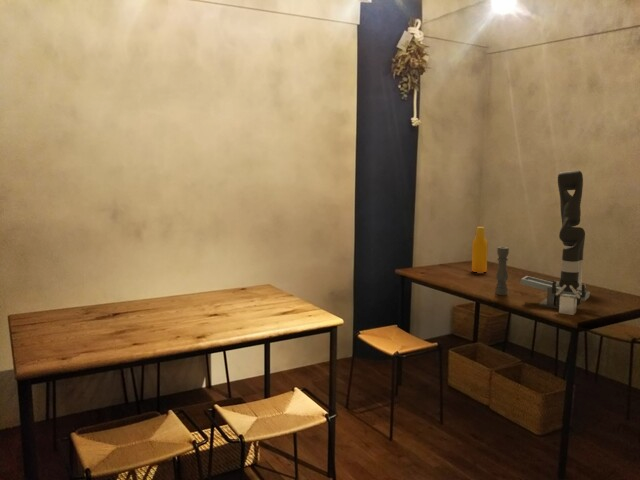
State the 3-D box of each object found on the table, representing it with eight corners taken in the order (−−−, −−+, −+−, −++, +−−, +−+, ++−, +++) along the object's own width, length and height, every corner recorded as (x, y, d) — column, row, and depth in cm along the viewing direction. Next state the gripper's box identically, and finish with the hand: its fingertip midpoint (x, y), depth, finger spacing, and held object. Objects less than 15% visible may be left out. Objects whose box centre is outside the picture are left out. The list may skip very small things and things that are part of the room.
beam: (525, 280, 271) (526, 275, 270) (588, 297, 253) (590, 291, 252) (520, 283, 264) (521, 278, 263) (584, 301, 246) (586, 295, 245)
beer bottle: (469, 270, 342) (470, 226, 338) (483, 270, 343) (484, 226, 339) (475, 273, 333) (476, 228, 329) (489, 273, 334) (490, 227, 330)
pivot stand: (545, 300, 267) (546, 282, 266) (567, 303, 261) (568, 285, 260) (538, 305, 258) (539, 287, 256) (560, 309, 252) (561, 290, 250)
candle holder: (508, 295, 278) (510, 248, 275) (495, 295, 280) (497, 248, 276) (506, 292, 284) (508, 246, 281) (494, 292, 286) (496, 246, 282)
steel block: (562, 310, 250) (563, 293, 249) (576, 312, 247) (577, 295, 246) (559, 312, 246) (560, 296, 244) (572, 315, 242) (574, 298, 241)
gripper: (588, 270, 242) (586, 305, 244) (555, 267, 251) (553, 300, 253) (584, 273, 236) (582, 308, 238) (551, 269, 245) (549, 303, 247)
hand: (567, 304), depth 245 cm, fingers open, 8 cm apart
